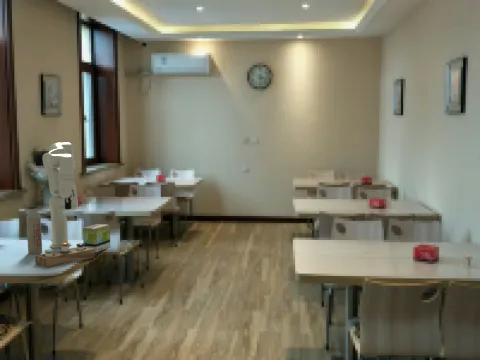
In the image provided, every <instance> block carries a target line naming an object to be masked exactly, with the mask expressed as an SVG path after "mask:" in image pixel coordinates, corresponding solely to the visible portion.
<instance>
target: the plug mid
mask: <svg viewBox="0 0 480 360" xmlns="http://www.w3.org/2000/svg"><path fill="white" fill-rule="evenodd" d="M69 243H70V242H69ZM69 243H61V248H60V249H61V250H62V253H63V254H64V253H69V249H70V246H69Z"/></svg>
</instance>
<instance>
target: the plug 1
mask: <svg viewBox="0 0 480 360" xmlns="http://www.w3.org/2000/svg"><path fill="white" fill-rule="evenodd" d="M53 252H54V249H45V250H44V254H45V257H50V256H53Z"/></svg>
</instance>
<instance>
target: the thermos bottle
mask: <svg viewBox="0 0 480 360" xmlns="http://www.w3.org/2000/svg"><path fill="white" fill-rule="evenodd" d="M26 215H27V216H26V217H25V218H26V219H25V220H26V222H25V223H26V236H27V253H28V255H40V254H43V240H42V238H43V236H42V223H41V222H42V221H41V217H42V216H41V215H40V212H39V211H38V206H36V205H35V206H28V211H27V213H26ZM39 253H40V254H39Z"/></svg>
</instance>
